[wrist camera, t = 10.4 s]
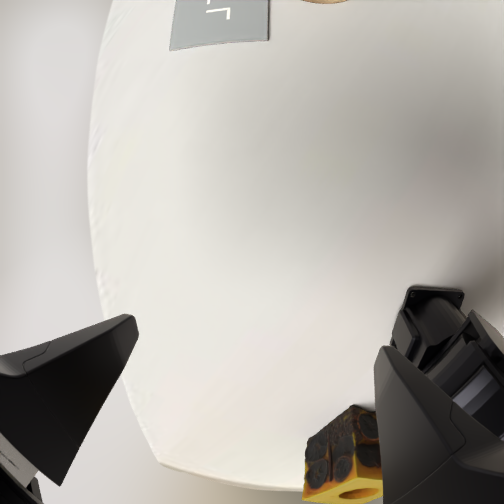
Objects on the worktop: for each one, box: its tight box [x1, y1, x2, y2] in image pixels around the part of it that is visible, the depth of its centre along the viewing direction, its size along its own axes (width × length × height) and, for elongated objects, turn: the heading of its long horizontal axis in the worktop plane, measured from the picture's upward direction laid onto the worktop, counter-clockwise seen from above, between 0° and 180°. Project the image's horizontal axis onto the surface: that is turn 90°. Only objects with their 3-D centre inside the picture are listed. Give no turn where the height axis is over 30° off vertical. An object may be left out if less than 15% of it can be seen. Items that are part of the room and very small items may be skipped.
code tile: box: [169, 0, 268, 51], centre depth 15 cm, size 8×8×1 cm
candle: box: [302, 406, 383, 504], centre depth 23 cm, size 10×10×10 cm
